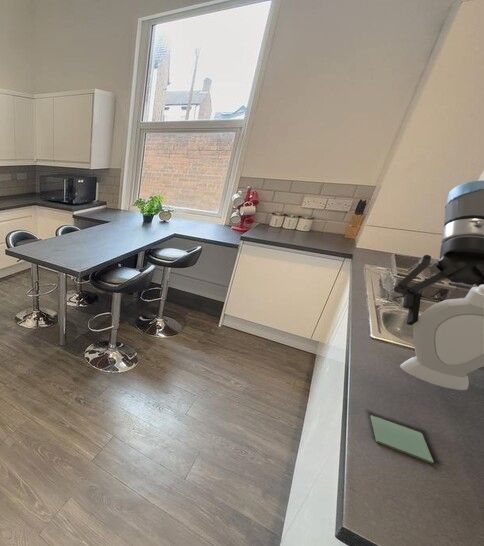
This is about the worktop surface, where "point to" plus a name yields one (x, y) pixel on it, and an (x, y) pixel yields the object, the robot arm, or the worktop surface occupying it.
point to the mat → (401, 439)
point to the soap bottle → (449, 341)
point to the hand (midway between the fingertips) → (459, 333)
